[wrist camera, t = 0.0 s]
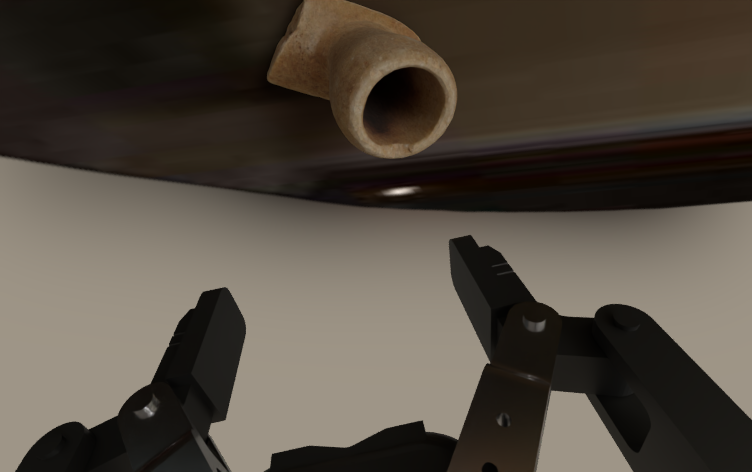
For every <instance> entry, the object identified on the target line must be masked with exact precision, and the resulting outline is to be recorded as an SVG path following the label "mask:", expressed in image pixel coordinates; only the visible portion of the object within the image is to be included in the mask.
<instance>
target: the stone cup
mask: <svg viewBox="0 0 752 472" xmlns="http://www.w3.org/2000/svg"><path fill="white" fill-rule="evenodd" d="M267 80H268V81H269V82H270V83H272V84H276V85H279V86H282V87H285V88H288V89H292V90H295V91H298V92H301V93H305V94H309V95H312V96H317V97H322V98H324V99H327V100H330V103H331V108H332V111H333V115H334V117H335V120H336V122H337V124H338V126H339V128H340V129H341V131H342V132H343V134H344V135H345V137H346V138H347V139H348V140H349V141H350V142H351V143H352V144H353V145H354V146H355V147H357V148H358V149H359V150H361V151H363V152H365V153H367V154H369V155H372V156H375V157H378V158H403V157H407V156H411V155H414V154H417V153H419V152H421V151H423V150H424V149H426V148H427V147H429V146H430V145H432V144H433V143H434V142H435V141H436V140H437V139H438V138H439V137H440V136H441V135H442V134H443V133H444V132H445V130H446V128H447V127H448V125H449V123H450V122H451V120H452V118H453V115H454V112H455V108H456V102H457V89H456V83H455V80H454V77H453V74H452V72H451V71H450V69H449V67H448V66H447V64H446V63H445V62H444V60H443V59H442V58H441V57H440V56H439V55H438V54H436V53H435V52H434V51H433V50H431V49H430V48H429V47H428V46H426V45H425V44H424V43H422V42H421V41H420V38H419V37H418V36H417V35H416V34H415V33H414V32H413V31H412V30H411V29H409V28H408V27H407V26H405V25H404V24H402V23H401V22H399V21H397V20H396V19H394V18H392V17H390V16H387V15H385V14H383V13H380V12H377V11H375V10H372V9H369V8H366V7H363V6H361V5H358V4H355V3H352V2H349V1H346V0H303V2H302V3H301V4H300V5H299V7H298V8H297V9H296V12H295V15H294V16H293V19H292V21H291V22H290V23H289V25H288V27H287V32H286V34H285V36H284V37H282V39H281V40H280V42H279V43H278V45H277V47H276V50H275V53H274V55H273V58H272V61H271V64H270V68H269V70H268V72H267Z"/></svg>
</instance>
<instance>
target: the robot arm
mask: <svg viewBox="0 0 752 472" xmlns="http://www.w3.org/2000/svg"><path fill="white" fill-rule="evenodd" d="M449 250H450V264H451V265H450V266H451V276H452V281H453V285H454V287H455V290H456V292H457V294H458V296H459V298H460V300H461V302H462V304H463V306H464V308H465V311H466V313H467V315H468V317H469V319H470V321H471V323H472V325H473V327H474V329H475V331H476V334H477V336H478V338H479V340H480V342H481V344H482V346H483V348H484V350H485V352H486V354H487V356H488V358H489V361H490V364H488V363H487V364H486V366H485V367H484V370H483V372H482V375H481V378H480V381H479V384H478V386H477V389H476V392H475V395H474V398H473V400H472V403H471V406H470V409H469V411H468V414H467V417H466V420H465V423H464V425H463V428H462V431H461V434H460V437H459V440H457V439H455V438H453V437H450V436H447V435H444V434H439V433H434V432H425V428H424V424H423V421H417V422H413V423H408V424H404V425H399V426H395V427H391V428H386V429H384V430H382V431H380V432H378V433H376V434H374V435H372V436H371V437H368V438H366V439H365V440H363V441H361V442H359V443H357V444H355V445H353V446H351V447H347V448H340V447H323V446H306V447H301V448H297V449H292V450H288V451H284V452H279V453H274V454H272V457H271V466H270V468H269V469H268V470H266V471H264V472H536V470H537V464H538V459H539V453H540V447H541V442H542V436H543V431H544V426H545V420H546V415H547V410H548V404H549V399H550V393H551V390H552V391H563V392H574V393H585V394H586V395H587V397H588V399H589V400H590V402H591V404H592V405H593V407H594V408H595V410H596V412H597V413H598V415H599V417H600V418H601V420H602V421H603V423H604V424H605V426H606V428H607V429H608V431H609V433H610V434H611V436H612V438H613V439H614V441H615V442H616V444H617V446H618V447H619V449H620V451H621V452H622V454H623V456H624V457H625V459H626V460H627V462H628V464H629V465H630V467H631V469H632V470H633V472H752V420H751V419H750V418H749V417H748V416H747V415H746V414H745V413H744V412H743V411H742V410H741V409H740V408H739V407H738V406H737V405H736V404H735V403H734V402H733V401H732V399H731V398H730V397H729V396H728V395H727V394H726V393H725V392H724V391H723V390H722V389H721V388H720V387H719V386H718V385H717V384H716V383H715V382H714V381H713V380H712V379H711V378H710V377H709V376H708V375H707V374H706V373H705V372H704V371H703V370H702V369H701V368H700V367H699V366H698V365H697V364H696V363H695V362H694V361H693V360H692V359H691V358H690V357H689V356H688V355H687V353H685V351H683V349H682V348H681V347H680V346H679V345H678V344H677V343H676V342H675V341H674V340H673V339H672V338H671V337H670V336H669V335H668V334H667V333H666V332H665V331H664V330H663V329H662V328H661V327H660V326H659V325H658V324H657V323H656V322H655V321H654V320H653V319H652V318H651V317H650V316H648V314H646V313H645V312H643V311H641V310H639V309H636V308H634V307H631V306H627V305H622V304H610V305H605V306H603V307H601V308H599V309H598V310H597V312H596V313H595V317H594V318H583V317H567V316H561V315H559V314H558V313H557V312H556V311H555V310H554V309H553V308H551V307H549V306H547V305H545V304H543V303H539V302H537V301H536V300H535V299H534V297H533V296H532V295H531V294H530V292H529V291H528V289H527V288H526V287H525V285H524V284H523V283H522V281H521V280H520V279H519V277H518V276H517V275H516V273H515V272H513V269H512V268H511V266H510V265H509V264H508V263H507V261H506V260H505V259H504V257H503V256H502V254H501V253H500V252H498V251H497V250H495V249H493V248H492V247H490V246H484V247H479V246H478V245H477V243H476V242H475V240H474V239H473V237H472V236H471V235H468V236H464V237H459V238H454V239H450V240H449ZM245 334H246V325H245V320H244V318H243V316H242V314H241V312H240V310H239V308H238V306H237V304H236V302H235V301H234V298H233V297H232V295H231V293H230V291H229V290H228V289H227V288H226V287H224V288H219V289H215V290H210V291H205V292H203V293H202V294H201V296H200V298H199V300H198V303H197V306H196V307H195V308H194V309H190V310H189V311H188V312H187V314H186V315H185V316H184V317H183V318H182V319H181V320H180V321H179V323H178V325H177V328H176V330H175V332H174V336H172V338H171V341H170V343H169V347H168V348H167V349H166V352H165V354H164V356H163V358H162V360H161V362H160V365H159V367H158V369H157V371H156V373H155V375H154V378H153V380H152V382H151V384H149V385H147V386H145V387H143V388H141V389H140V390H138V391H137V392H136V393H134V394H133V395H132V396H131V397H130V398H129V399H128V400H127V401H126V402H125V403H124V405H123V406H122V408H121V409H120V411H119V414H118V416H116V417H114V418H112V419H110V420H107V421H105V422H103V423H102V424H99V425H97V426H95V427H93V428H91V429H89V430H88V429H87V428H85V426H83V425H82V424H81V423H79V422H69V423H65V424H62V425H60V426H58V427H56V428H54V429H52V430H51V431H49V432H48V433H47V434H45V435H44V436H43V437H42V438H40V439H39V440H38V441H37V442H36V443H35V444H34V445H33V446H32V447H31V449H30V450H29V451H28V453H27V454H26V455H25V457H24V458H23V460H22V462H21V463H20V465H19V466H18V468H17V470H16V471H15V472H231V470H230V468H229V467H228V465H227V463H226V462H225V460H224V458H223V456H222V455H221V453H220V451H219V450H218V448H217V446H216V444H215V443H214V441H213V439H212V438H211V436H210V435H209V434H208V432H209V429H210V425H211V423H215V422H220V421H224V420H226V415H227V411H228V407H229V403H230V398H231V394H232V390H233V386H234V382H235V377H236V373H237V368H238V365H239V360H240V356H241V352H242V348H243V343H244V339H245Z"/></svg>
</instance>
